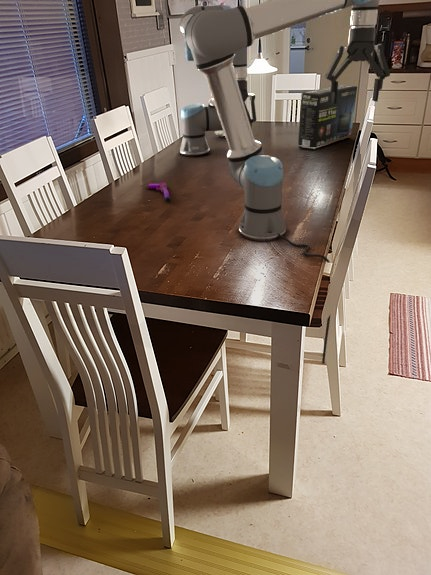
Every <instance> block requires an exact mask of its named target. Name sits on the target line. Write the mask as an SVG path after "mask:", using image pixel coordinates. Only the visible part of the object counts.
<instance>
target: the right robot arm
mask: <svg viewBox="0 0 431 575" xmlns="http://www.w3.org/2000/svg"><path fill="white" fill-rule="evenodd" d="M379 5H380V0H266V1H264V2H261V3H257V4H254V5H252V6H249V7H246V6H245V5H243V4H241V5H238V6H235V7H231V9H225V10H202V11H198V12H197V13H195V14H194V15H193V16H191V17H190V19H189V20H188V22H187V24H186V26H185V31H184V35H183V37H184V43H185V42H186V45H187V47H188V49H189V50H190V51H191V52H192V55H193V58H194V61H193V62H194V64H195V66H196V69H197V71H198V72H201V73H203V75H204V78H205V80H206V83H207V86H208V89H209V93H210V96H211V95H212V98H213V101H214V104H215V107H216V110H217V113H218V116H219V119H220V122H221V125H222V128H223V131H224V134H225V137H224V138H225V139H226V142H227V146H228V151H227V152H226V158H227V160H228V163H229V164H228V166H229V172H230V175H231V177H232V179H233V181H235V182H236V183H237V185H239V186H240V187H241V188H242V189H243V191H244V211H243V213H242V216H241V220H240V221H239V220H237V226H238V232H239V235H240V236H241V237H242V238H244V239H247V240H250V241H254V242H271V241H277V240H279V239H282V240H284V241H286V242H287V243H288V244H289V245H291V246H293V247H296V248H298V247H299V248H303V247H304V248H305V249H304V250H303V252H302V253H303V255H304V256H305V257H310V258H313V257H314V258H321V259H323V260H324V261H325V262H326V263H330V260H329V259H328V257H326V256H325V255H323V254H318V253H307V252H308V251H309V250H310V249H311V247H310V245H308V244H306V243H305V244H304V243H301V244H298V243H294V242H292V241H291V240H290V239H288V238H287V237H285V235H286V234H287V223H286V221H285V216H284V214H283V210H282V200H283V183H284V168H283V167H284V166H283V163H282V161H281V160H280V159H279V158H277V157H275V156H271V155H265V153H264V149H263V146H262V143H261V142H260V141H259V140H257V139H256V138H255V136H254V132H253V128H252V129H251V126H250V122H249V119H248V116H247V112H246V109H245V106H244V102H243V99H242V96H241V92H240V89H239V86H238V82H237V79H236V76H235V72H234V69H233V66H232V61H233V58H234V56H235V54H234V52H236V51H239V50H241V49H244V48H246V47H247V48H249V47H251V46H252V45H253V44H254V43H255V41H256V40H258V39H262V38H264V37H266V36H269V35H273V34H275V33H279V32H281V31H285V30H287V29H289V28H292V27H295V26H297V25H301V24H305V23H307V22H309V21H313V20H316V19H318V18H321V17H324V16H326V15H329V14H333V13H336V12H338V11H340V10H344V9H347V8H350V7H351V16H350V26H351V27H350V29H349V32H348V34H349V35H348V42H347V43H348V44H347V46H344V45H338V46H337V48H336V54H335V56H334V57H333V60H332V62H331V64H330V65H329V67H328V68H327V71H326V73H325V75H324V78H325V79H326V80H328V81H329V84H330V85H329V87H330V92H332V103H333V104H336V100H337V90H338V85H339V81H338V79H339V78H340V76H341V75H342V74H343V73H344V71H345V70H346V69H347V68H348V67H349V65H350V64H352V63H353V62H355V63H356V62H367V63H368V65H369V66H370V68H371V70H372V71H373V72H374V74H375V76H376V77H377V78H374V83H373V84H374V85H373V92H372V99H371V101H373V102H376V103H378V102H379V101H378V100H379V94H380V91H381V90H382V89H383V84H384V80H385V79H386V78H387V77H390V76H391V72H390V69H389V65H388V63H387V59H386V54H385V52H384V51H385V45H384V44H383V43H378V44H375V38H376V30H377V29H376V27H375V26H376V25H377V23H378V22H377V21H378V14H379V13H378V12H379ZM373 52H375V53H376V56H377V58H378V61H379V62H378V63H379V65H380V67H381V68H380V67H379V66H378V63H377V62H376V60H375V59H374V57H373V55H372V54H373ZM345 53H347V56H346V57H345V58H344V60H343V61H342V63H341V64H340V65H339V63H340V61H341V60H342V57H343V55H344V54H345ZM338 65H339V67H338ZM337 67H338V68H337ZM330 321H331V315H328V317H327V320H326V327H325V334H324V335H325V336H324V341H323V342H324V343H323V350H322V360H321V363H322V365H324V364H325V363H326V362H325V361H326V353H327V345H328V338H329V330H330V323H331V322H330Z"/></svg>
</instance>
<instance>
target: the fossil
mask: <svg viewBox="0 0 431 575" xmlns="http://www.w3.org/2000/svg"><path fill="white" fill-rule="evenodd" d="M214 134H215V136H216V135H222V136H217V137H218V138H220V137H223V136H225V134H224V131H223V130H218V131H214Z"/></svg>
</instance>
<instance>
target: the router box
mask: <svg viewBox="0 0 431 575" xmlns="http://www.w3.org/2000/svg"><path fill="white" fill-rule="evenodd" d="M357 93H358V86H356V85H350V84H338V90H337V100H336V104H333V103H332V92H330V86H328V87H324V88H318V89H314V90H309V91H304V92H301V93H300V109H299V110H300V111H299V124H298V137H297V146H298V145H302V146H307V147H317V146H320V145H323V144H325V143H328V142H331V141H333V140H336V139H338V138H341V137H344V136H347V135H351V136H352V133H353V132H352V131H353V125H354V115H355V109H356V99H357ZM311 151H313V150H312V149H311Z"/></svg>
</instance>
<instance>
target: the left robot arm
mask: <svg viewBox="0 0 431 575" xmlns="http://www.w3.org/2000/svg"><path fill="white" fill-rule="evenodd" d="M231 8H232V7H231V6H230V5H225V4H218V5H217V4H216V5H199V6H198V5H197V6H194V7H191V8H189V9H188V10H187V11H185V12H184V14H182V16H181V18H180V21H179V28H180V29H179V30H180V32H181V34H182V36H184V31H185V26H186V24H187V22H188V20H189V19H190V17H191V16H193V15H194V14H195V13H197V12H198V11H202V10H225V9H231ZM234 54H235V56H234V58H233V61H232V66H233V69H234V72H235V76H236V79H237V82H238V86H239V89H240V92H241V96H242V99H243V102H244V106H245V109H246V112H247V116H248V119H249V122H250V126H251V129H252V130H253V123H254V122H257V115H256V114H257V112H256V104H255V102H256V101H255V100H256V95H255V94H254V93H249V91H248V79H247V78H248V47H246V48H244V49H241V50H239V51H236V52H234ZM184 56H185V60H186V61H187V62H195V61H194V58H193V55H192V52H191V51H190V50H189V49H188V47H187V45H186V42H185V41H184ZM247 99H249V101H250V110H251V115H250V111H249V109H248V107H247V104H246V101H247ZM207 105H208V106H207ZM207 105H206V106H205V104H204V103H193V104H192V103H191V104H187V105H185V106H183V107H182V108H181V110H180V120H181V135H182V139H181V143H180V147H179V154H180V155H181V156H182V157H183V156H184V157H189V158H190V157H191V158H192V157H195V158H196V157H202V156H206V155H208V154H210V146H209V144H208V140H207V138H206V132H215V131H218V130H223V128H222V125H221V122H220V119H219V116H218V113H217V110H216V107H215V104H214V101H213V98H212V95H211V94H210V99H209V100H208V103H207Z"/></svg>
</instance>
